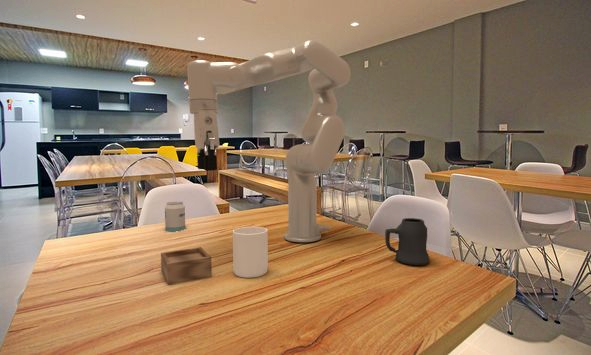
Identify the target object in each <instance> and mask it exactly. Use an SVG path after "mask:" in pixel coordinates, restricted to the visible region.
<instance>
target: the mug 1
mask: <svg viewBox="0 0 591 355" xmlns="http://www.w3.org/2000/svg"><path fill="white" fill-rule="evenodd" d="M268 232H269V231H268V229H267V228H266V227H262V226H243V227H241V226H240V227H238V228H234V229H233V230H232V271H233V273H234V275H235V276H237V277H240V278H242V279H243V278H245V279H250V278H251V279H252V278H258V277H262V276H264V275H265V274H266V273H267V272H268V269H269V268H268V267H269V265H268V264H269V253H268V252H269V251H268V250H269V249H268V248H269V247H268V246H269V244H268V242H269V241H268V238H269V237H268Z"/></svg>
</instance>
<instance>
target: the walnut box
mask: <svg viewBox="0 0 591 355" xmlns="http://www.w3.org/2000/svg"><path fill="white" fill-rule="evenodd" d="M160 269H161V270H160V271H161V274H162V276H163V278H164V281H165V282H166V284H167V285H168V286H171V285H176V284H181V283H186V282H192V281H197V280H203V279H209V278H212V277H213V276H212V275H213V273H212V256H211V255H210V254H209V253H208V252H207V251H206V250H205V249H204V248H203V247H201V246H200V247H192V248H185V249H177V250H171V251H163V252H160Z"/></svg>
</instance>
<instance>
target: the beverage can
mask: <svg viewBox="0 0 591 355" xmlns="http://www.w3.org/2000/svg"><path fill="white" fill-rule="evenodd" d="M164 222H165V224H164V226H165V228H164V229H165V231H166V232H168V233H176V231H178V232H182V231H185V230H186V207H185V204H184V203H183V201H170V202H166V205H165V207H164ZM184 229H185V230H184ZM181 230H182V231H181Z"/></svg>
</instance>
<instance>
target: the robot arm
mask: <svg viewBox="0 0 591 355" xmlns="http://www.w3.org/2000/svg"><path fill="white" fill-rule="evenodd" d="M186 68H187V70H186V72H187V87H188V105H189V114H190V115H193V126H194V128H193V131H194V142H195V143H194V144H195V147H196V149H197V151H196V158H197V159H196V160H197V161H196V162H197V169H198V170H204V171H206V172H207V171H208V172H211V171H217V170H218V161H217V158H218V157H217V149H218V148H219V147H220V135H219V124H218V119H217V114H219V109H218V108H219V106H218V95H226V94H230V93H235V92H237V91H241V90H243V89H247V88H250V87H251V88H252V87H254V86H260V85H265V84H269V83H271V82H272V83H273V82H276V81H279V80H282V79H286V78H289V77H293V76H297V75H300V74H304V73H307V72H308V71H310V73H309V75H308V85H309V87H310V90H311V92H312V96H313V102H312V103H313V104H312V105H311V108H310V111H309V112H308V114H307V117H306V120H305V122H304V123H303V125H302V128H301V138H302V140H303V141H304V142H305V143H303V144H295V145H293V146H291V147H290V148H289V149H288V151H286V152H287V153H286V155H285V167H286V168H285V169H286V174H287V183H288V184H287V186H288V188H287V189H288V191H287V193H288V194H287V195H288V198H287V200H288V201H287V202H288V203H287V204H288V209H287V210H288V215H287V217H288V225H287V226H288V227H287V228H288V231H287V232H285V233H284V234H283V239H284V240H287V241H289V242H292V243H293V242H294V243H312V242H316V241H317V242H318V241H319V240H321V239H322V233H321V232H325V231H326V232H327V231H328V232H329V231H330V226H329V224H325V225H324V224H323V225H322V224H318V223H317V217H318V216H317V210H318V207H317V205H318V204H317V194H318V193H317V192H318V191H317V190H318V187H317V181H316V178H315V177H316V176H315V175H321V174H325V173H326V172H327V171H329V169H331V167H332V165H333V163H334V161H335V159H336V157H337V154H338V151H339V149H340V146H341V144H342V142H343V139H344V136H345V123H344V122H343V119H342V118H341V117H340V116H339V115H338V114H336V113H337V111H338V102H337V99H336V96H335V94H334V91H333V90H334V89H338V88H343V86H346V85H347V84H348V83H349V81H350V80H351V75H352V73H351V69H350V66H349V64H348V63H347V62H346V60H344V59H343V58H342V57H341V56H339V55H338V54H337V53H335V52H334V51H333V50H331V49H330V48H329V47H327V46H326V45H324V44H323V43H321V42H320V41H318V40H315V39H308V40H306V41H304V42H301V43H300V44H298V45H295V46H292V47H287V48H283V49H278V50H275V51H269V52H265V53H262V54H259V55H258V56H255V57H253V58H251V59H248V60H247V61H244V62H241V63H237V62H234V61H221V62H220V61H218V62H217V61H216V62H215V61H213V62H212V61H210V60H205V59H204V60H202V59H196V60H192V61H190V62H188V63H187V66H186Z"/></svg>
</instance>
